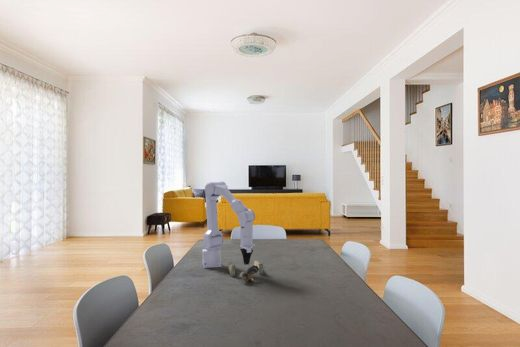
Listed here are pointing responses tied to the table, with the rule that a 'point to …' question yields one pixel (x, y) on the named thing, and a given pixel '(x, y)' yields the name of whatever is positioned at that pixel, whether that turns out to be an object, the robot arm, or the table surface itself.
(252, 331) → the table surface
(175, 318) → the table surface
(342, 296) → the table surface
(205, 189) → the robot arm
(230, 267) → the wooden matchsticks
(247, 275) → the eagle figurine
